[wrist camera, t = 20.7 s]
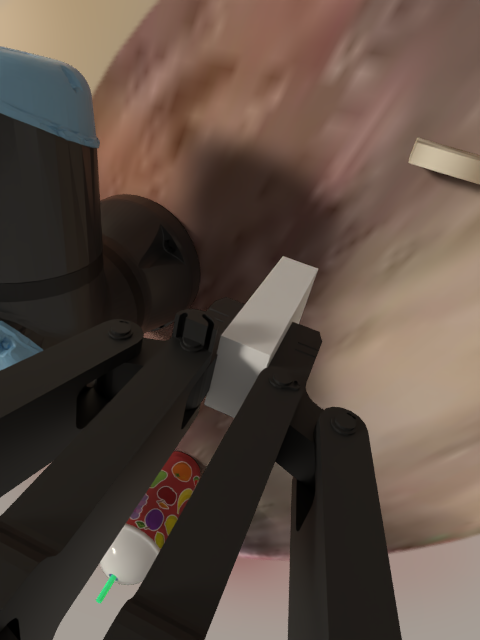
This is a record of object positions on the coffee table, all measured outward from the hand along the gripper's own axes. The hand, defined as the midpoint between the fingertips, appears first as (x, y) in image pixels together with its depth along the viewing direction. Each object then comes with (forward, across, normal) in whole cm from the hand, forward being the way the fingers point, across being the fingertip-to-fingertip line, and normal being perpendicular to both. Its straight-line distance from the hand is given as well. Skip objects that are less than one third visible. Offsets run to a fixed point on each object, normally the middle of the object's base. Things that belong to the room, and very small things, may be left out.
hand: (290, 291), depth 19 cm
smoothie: (+25, -10, -45) cm, 52 cm away
